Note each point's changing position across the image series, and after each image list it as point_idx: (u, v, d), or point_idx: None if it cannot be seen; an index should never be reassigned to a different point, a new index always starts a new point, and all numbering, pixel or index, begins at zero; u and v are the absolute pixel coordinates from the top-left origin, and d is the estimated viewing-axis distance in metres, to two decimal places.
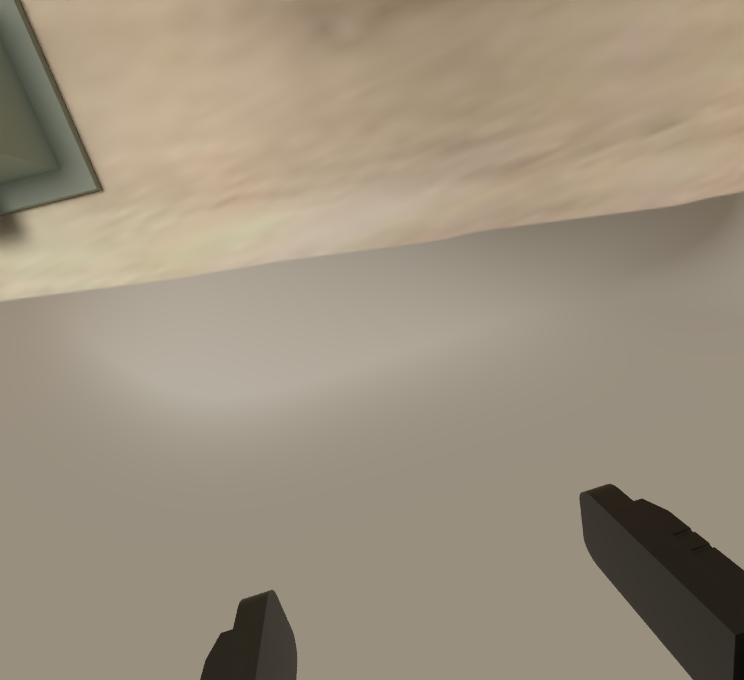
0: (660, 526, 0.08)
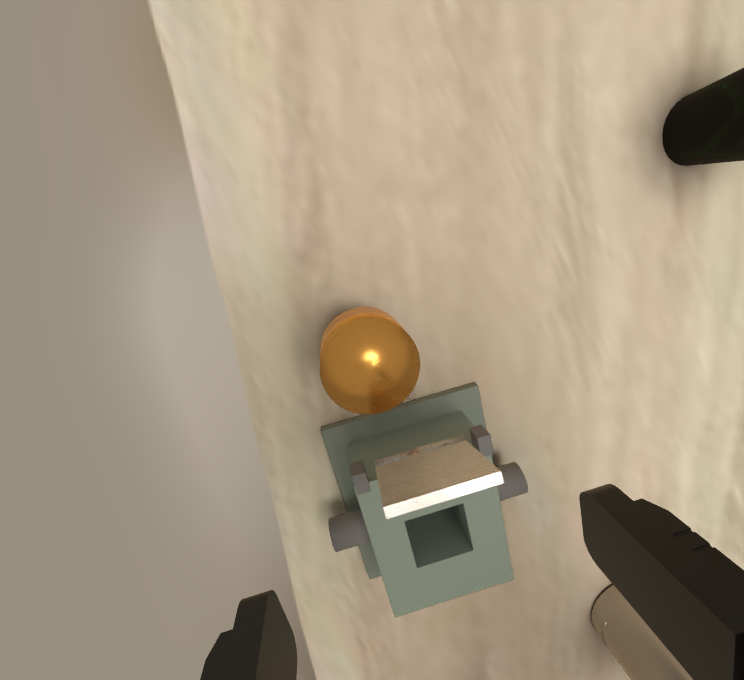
0: (660, 526, 0.08)
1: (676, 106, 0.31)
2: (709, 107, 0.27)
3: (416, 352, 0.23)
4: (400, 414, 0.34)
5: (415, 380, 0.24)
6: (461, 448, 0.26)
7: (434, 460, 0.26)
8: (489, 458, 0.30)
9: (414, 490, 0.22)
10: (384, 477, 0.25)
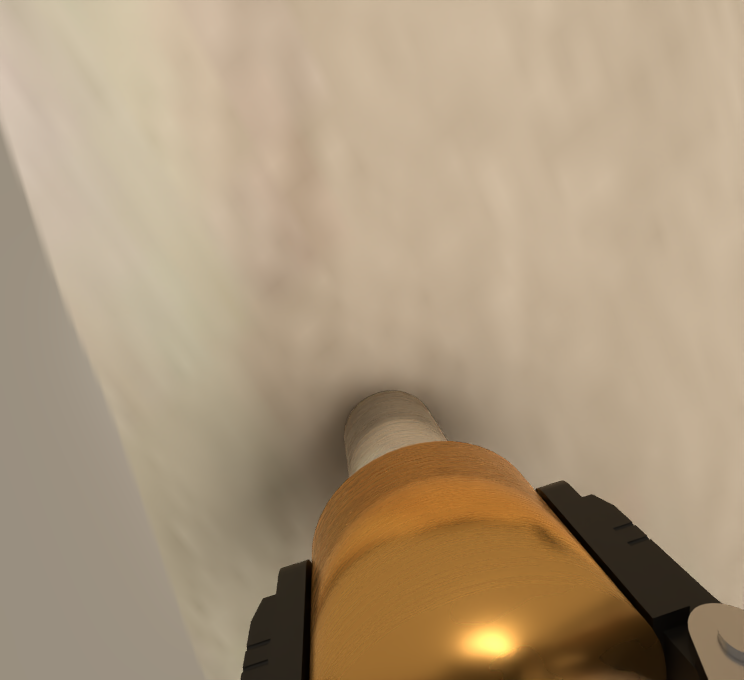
0: (602, 520, 0.08)
1: None
2: None
3: (659, 666, 0.06)
4: None
5: None
6: None
7: None
8: None
9: None
10: None
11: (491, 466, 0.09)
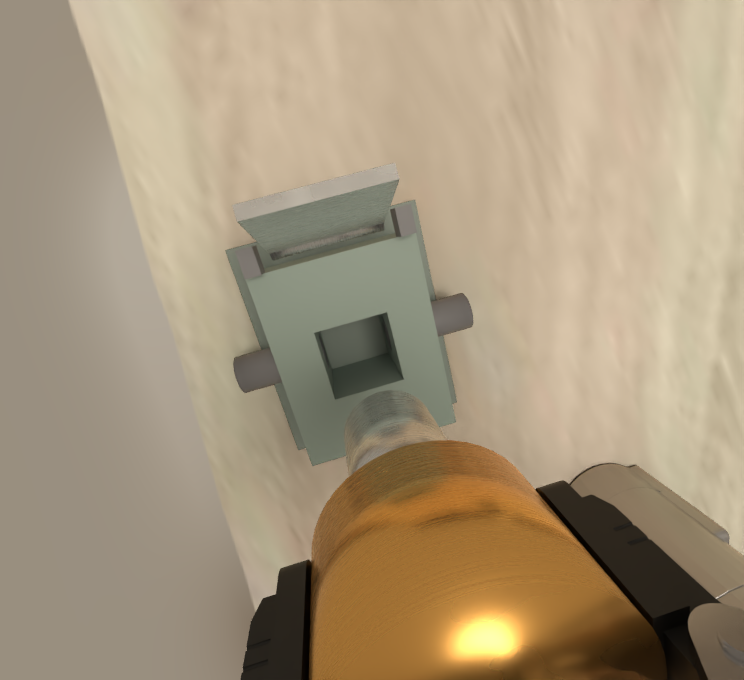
0: (602, 520, 0.08)
1: None
2: None
3: (660, 665, 0.06)
4: None
5: None
6: None
7: None
8: (416, 250, 0.24)
9: None
10: None
11: (491, 465, 0.09)
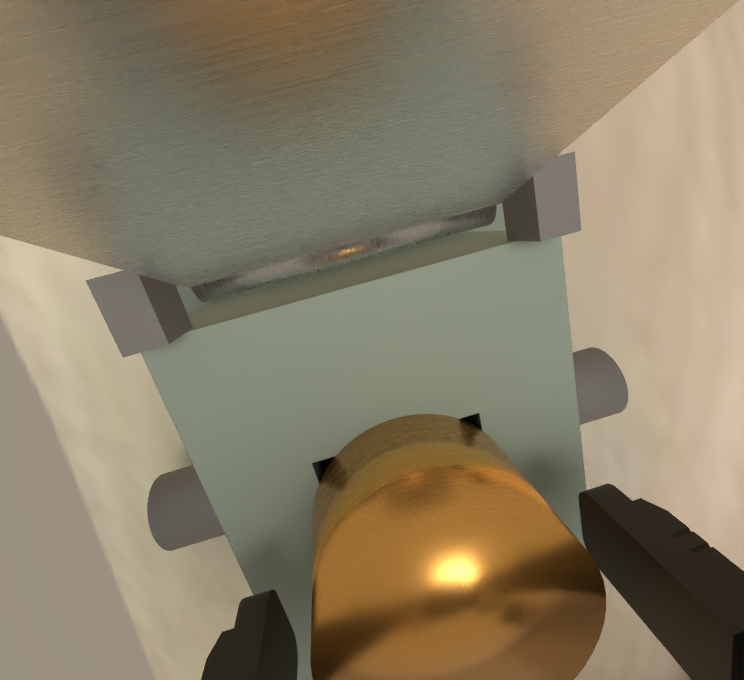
0: (659, 526, 0.08)
1: None
2: None
3: (599, 589, 0.08)
4: None
5: (586, 655, 0.08)
6: None
7: None
8: (557, 273, 0.10)
9: None
10: None
11: (468, 433, 0.10)
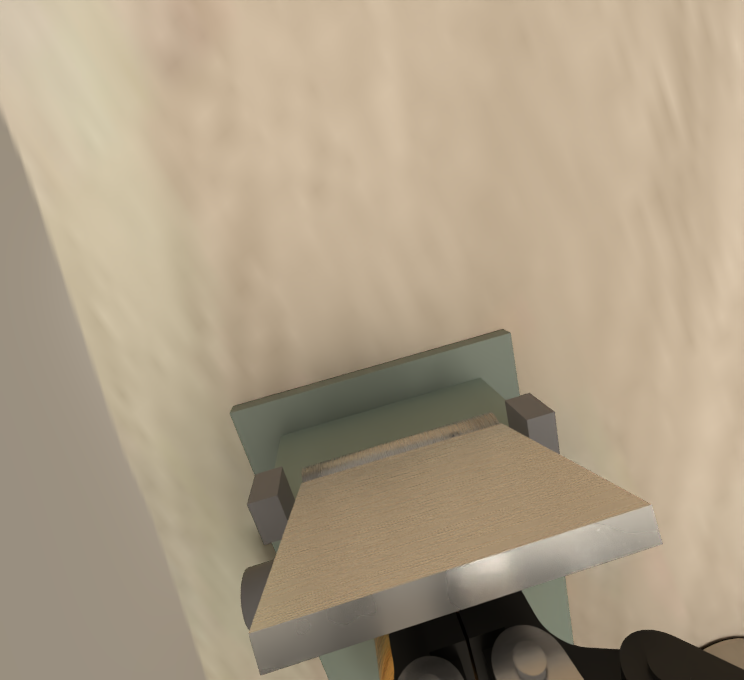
0: None
1: None
2: None
3: None
4: (372, 383, 0.19)
5: None
6: (495, 440, 0.11)
7: (432, 468, 0.10)
8: None
9: (366, 563, 0.07)
10: (307, 510, 0.10)
11: None
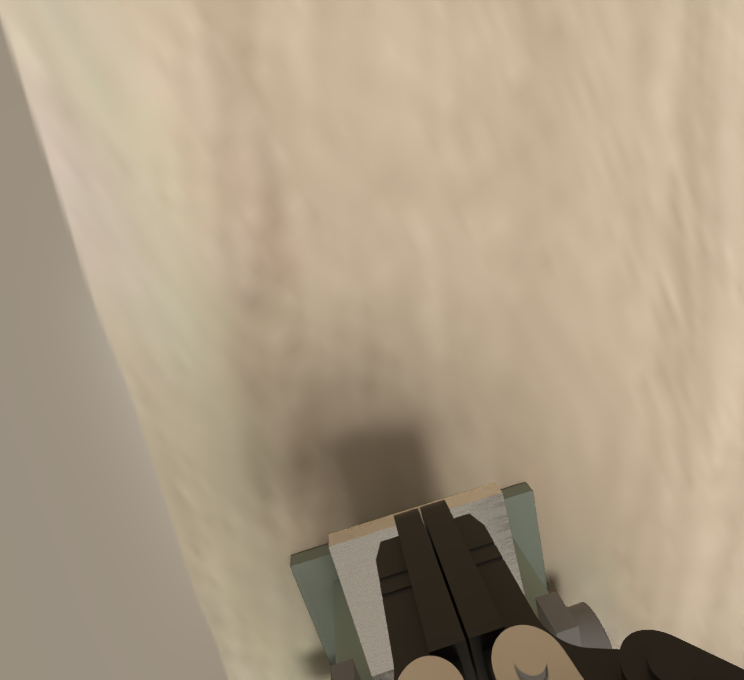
0: (461, 540, 0.09)
1: None
2: None
3: None
4: None
5: None
6: None
7: None
8: None
9: None
10: None
11: None
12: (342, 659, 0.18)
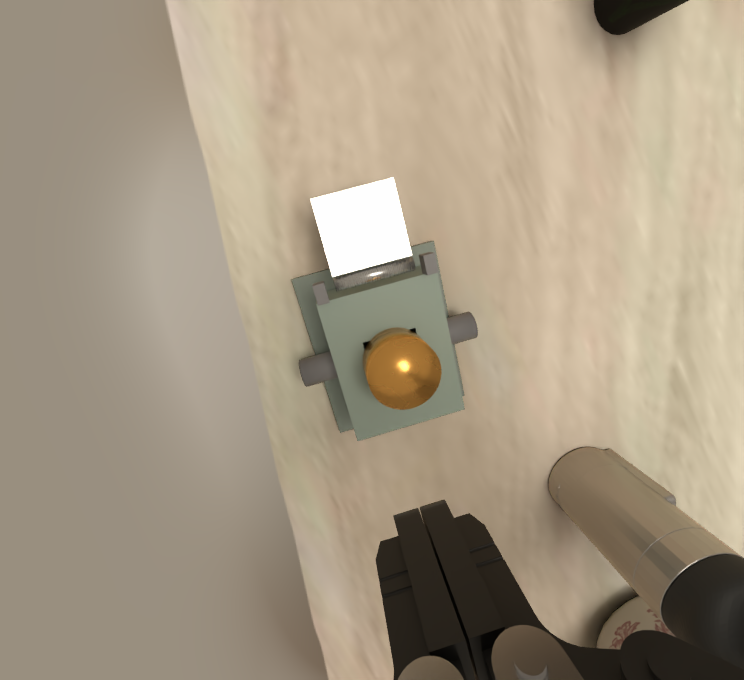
0: (461, 540, 0.09)
1: None
2: None
3: (439, 363, 0.31)
4: None
5: (438, 384, 0.32)
6: None
7: None
8: (437, 283, 0.33)
9: None
10: None
11: (410, 331, 0.33)
12: None
